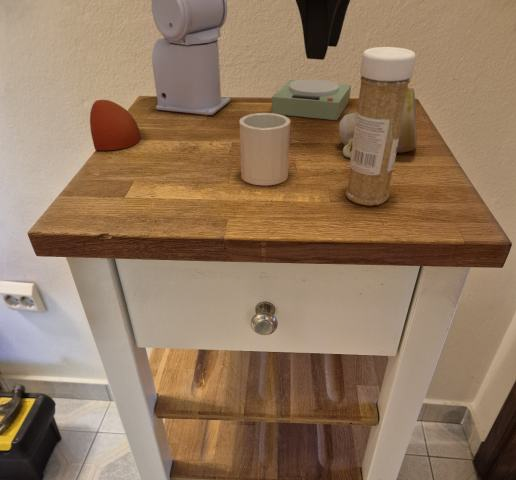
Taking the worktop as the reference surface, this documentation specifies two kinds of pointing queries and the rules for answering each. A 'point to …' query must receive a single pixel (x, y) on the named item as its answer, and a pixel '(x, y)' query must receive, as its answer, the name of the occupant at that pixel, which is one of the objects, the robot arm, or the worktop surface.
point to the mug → (406, 132)
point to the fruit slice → (112, 126)
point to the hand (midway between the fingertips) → (322, 52)
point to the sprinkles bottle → (378, 122)
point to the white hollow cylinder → (264, 148)
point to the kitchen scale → (311, 99)
